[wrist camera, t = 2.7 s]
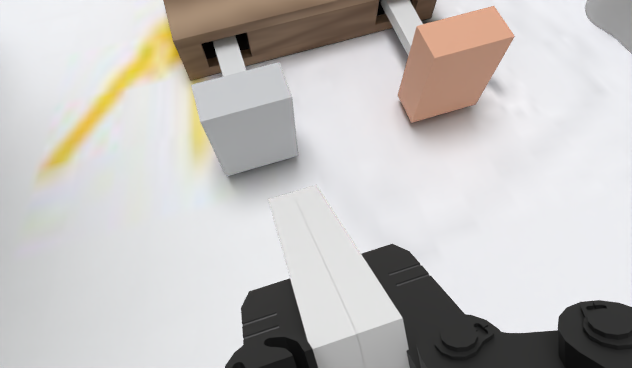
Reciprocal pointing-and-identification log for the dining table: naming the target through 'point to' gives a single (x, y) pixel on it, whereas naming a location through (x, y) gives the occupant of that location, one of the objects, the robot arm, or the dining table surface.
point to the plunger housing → (271, 26)
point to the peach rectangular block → (446, 57)
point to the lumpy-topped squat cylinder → (612, 18)
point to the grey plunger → (246, 112)
